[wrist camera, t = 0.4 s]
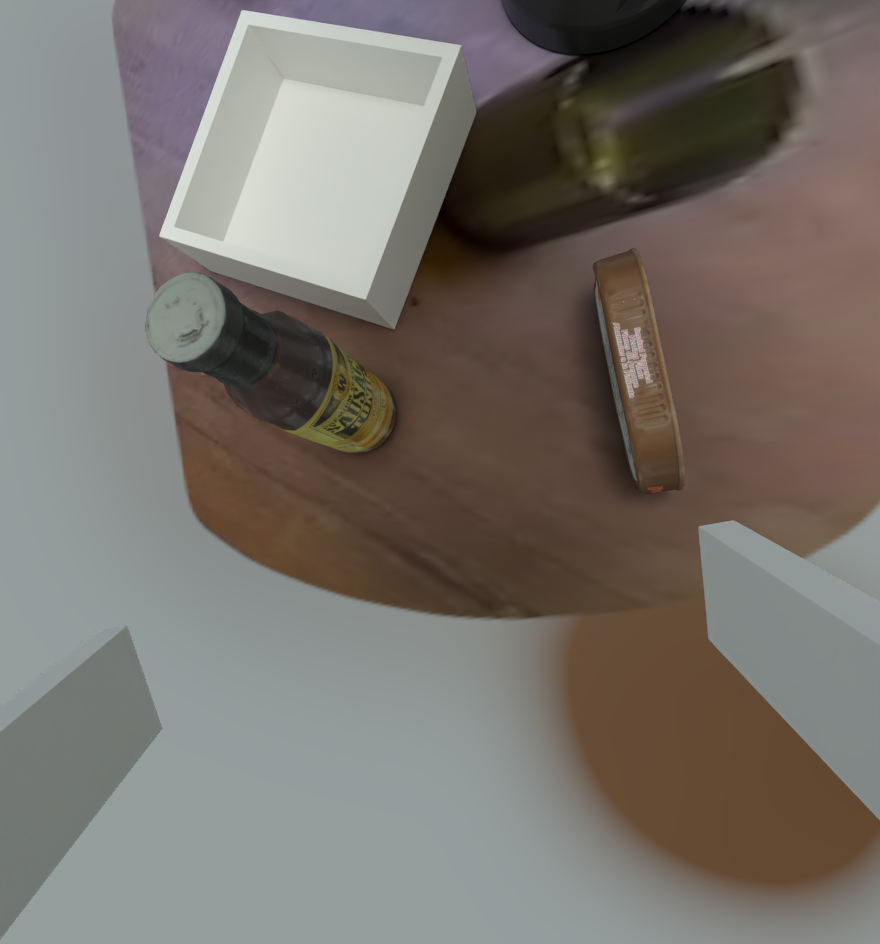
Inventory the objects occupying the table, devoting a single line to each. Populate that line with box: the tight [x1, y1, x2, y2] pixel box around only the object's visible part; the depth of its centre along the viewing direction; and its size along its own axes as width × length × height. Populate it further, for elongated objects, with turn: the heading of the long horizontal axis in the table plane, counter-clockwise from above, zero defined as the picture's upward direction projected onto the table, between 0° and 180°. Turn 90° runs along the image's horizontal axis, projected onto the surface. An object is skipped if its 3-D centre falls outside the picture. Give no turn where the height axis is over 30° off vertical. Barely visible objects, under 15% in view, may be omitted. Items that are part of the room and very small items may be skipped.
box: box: [159, 10, 477, 330], centre depth 40 cm, size 18×18×6 cm
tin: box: [593, 248, 685, 494], centre depth 32 cm, size 15×3×8 cm, turn 9°
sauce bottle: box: [145, 273, 396, 453], centre depth 31 cm, size 7×6×20 cm
